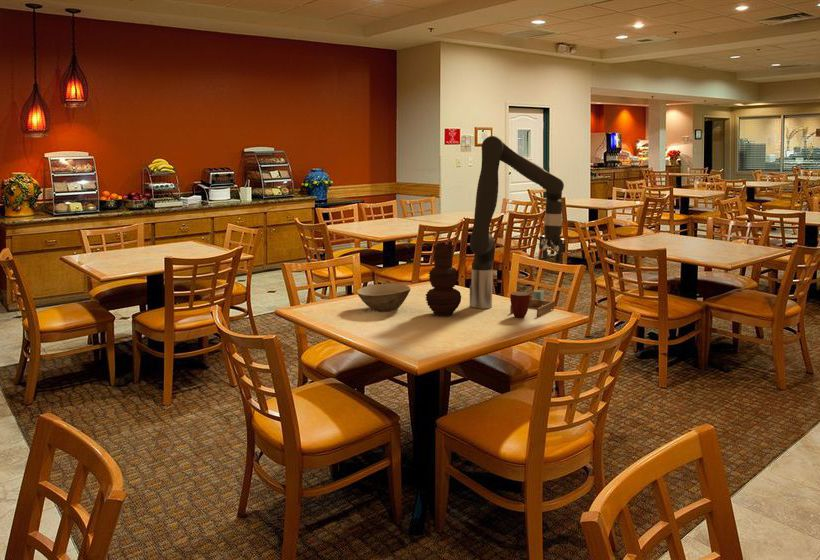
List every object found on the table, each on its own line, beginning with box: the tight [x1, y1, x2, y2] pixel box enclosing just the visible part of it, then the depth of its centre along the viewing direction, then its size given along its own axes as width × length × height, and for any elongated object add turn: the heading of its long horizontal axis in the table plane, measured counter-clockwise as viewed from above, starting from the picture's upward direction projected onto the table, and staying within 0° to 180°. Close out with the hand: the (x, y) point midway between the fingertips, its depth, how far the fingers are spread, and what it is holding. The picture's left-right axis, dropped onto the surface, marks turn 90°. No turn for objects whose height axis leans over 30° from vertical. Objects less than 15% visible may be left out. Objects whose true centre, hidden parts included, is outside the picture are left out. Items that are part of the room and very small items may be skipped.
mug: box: [509, 291, 531, 319], centre depth 288 cm, size 11×8×10 cm
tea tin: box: [531, 289, 545, 300], centre depth 314 cm, size 4×4×6 cm
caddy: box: [509, 298, 555, 318], centre depth 299 cm, size 13×17×4 cm
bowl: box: [356, 283, 411, 313], centre depth 304 cm, size 24×24×10 cm
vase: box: [424, 243, 462, 318], centre depth 292 cm, size 15×15×30 cm
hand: (551, 260), depth 300 cm, fingers open, 8 cm apart
